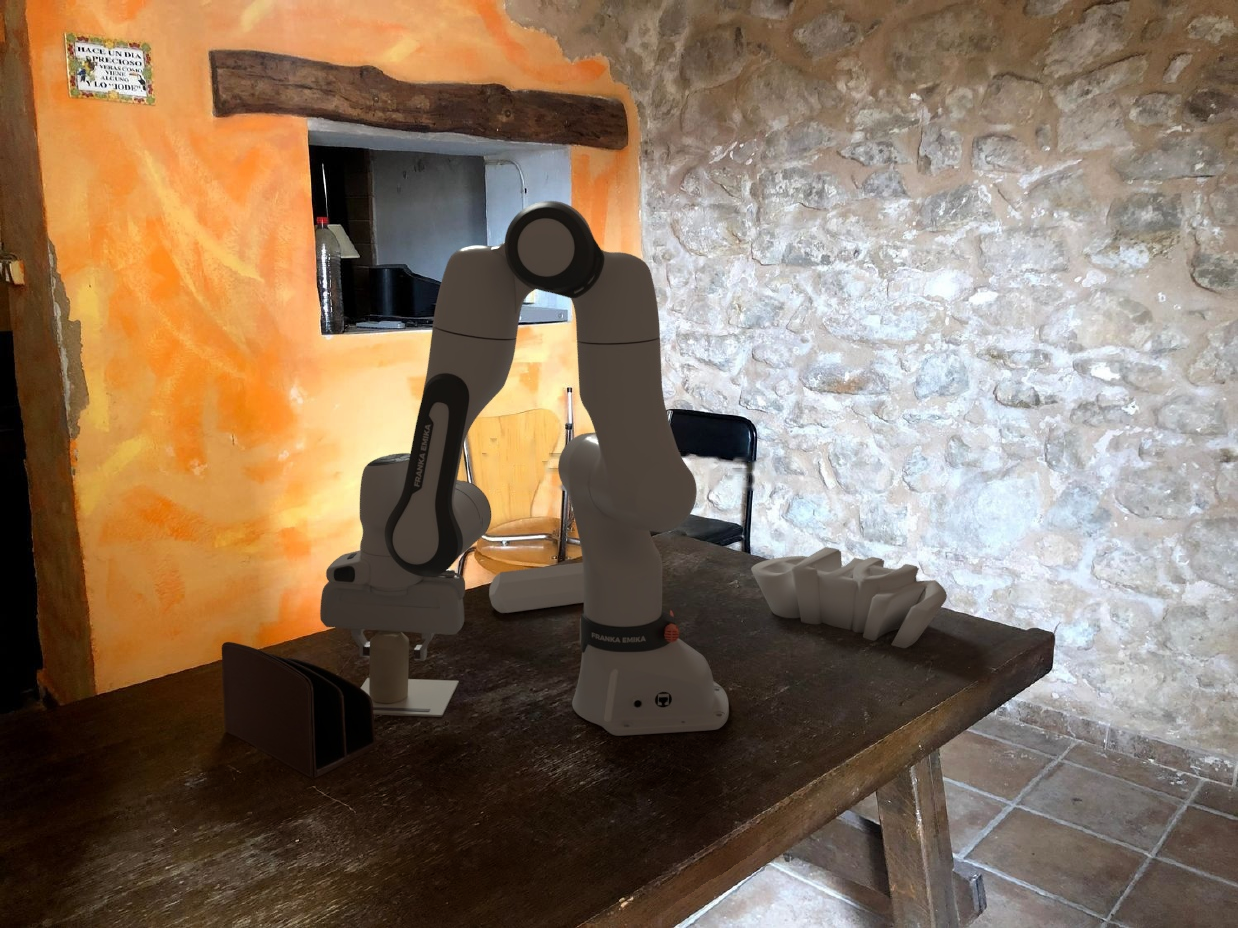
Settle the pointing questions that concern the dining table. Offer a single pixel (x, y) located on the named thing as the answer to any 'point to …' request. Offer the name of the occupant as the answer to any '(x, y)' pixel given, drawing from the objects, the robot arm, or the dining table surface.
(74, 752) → the dining table surface
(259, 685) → the letter holder
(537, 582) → the grey chamfered bar
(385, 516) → the robot arm
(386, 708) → the white rectangular plate
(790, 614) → the wavy white extrusion
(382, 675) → the candle
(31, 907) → the dining table surface
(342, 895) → the dining table surface
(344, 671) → the dining table surface
